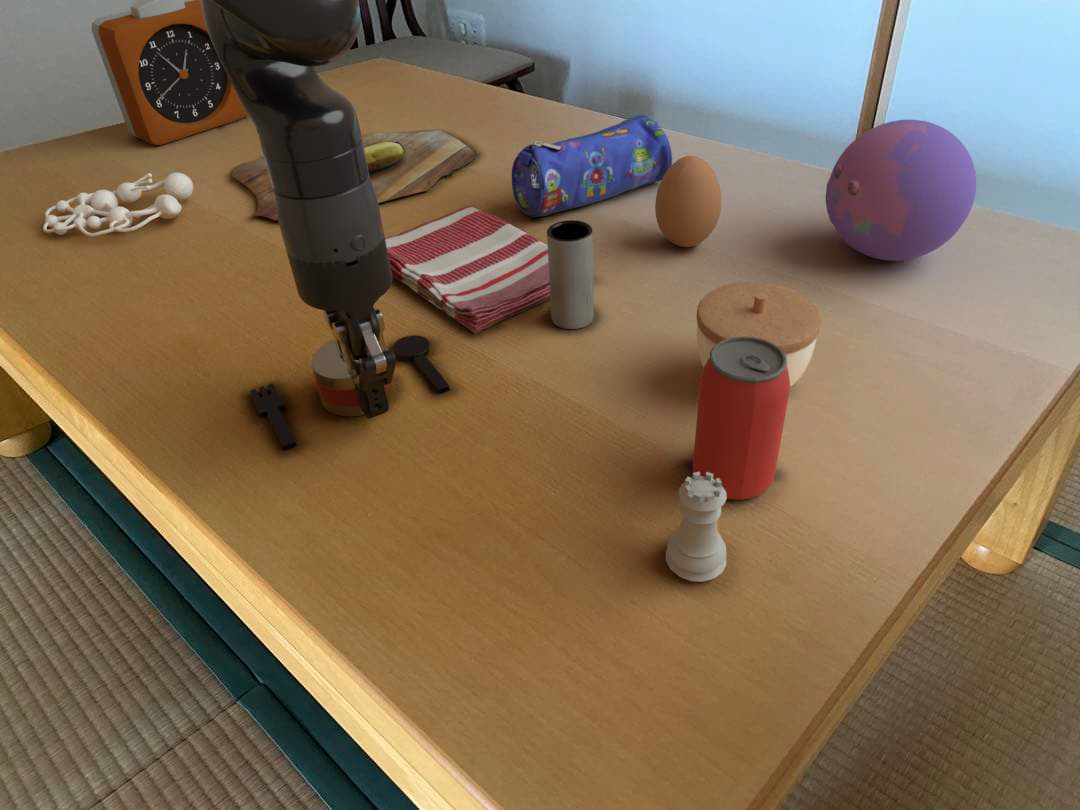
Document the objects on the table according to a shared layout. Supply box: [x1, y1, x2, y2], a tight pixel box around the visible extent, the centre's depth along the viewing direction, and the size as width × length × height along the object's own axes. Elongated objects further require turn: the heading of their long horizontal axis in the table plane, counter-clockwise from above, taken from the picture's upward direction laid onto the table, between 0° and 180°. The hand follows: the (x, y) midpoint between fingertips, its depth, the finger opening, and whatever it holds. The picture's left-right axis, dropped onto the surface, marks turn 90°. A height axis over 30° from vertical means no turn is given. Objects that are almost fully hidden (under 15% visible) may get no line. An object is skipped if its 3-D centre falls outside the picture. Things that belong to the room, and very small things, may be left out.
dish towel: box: [385, 205, 550, 334], centre depth 96 cm, size 17×23×3 cm
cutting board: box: [231, 130, 477, 221], centre depth 120 cm, size 35×27×4 cm
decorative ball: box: [825, 119, 977, 262], centre depth 90 cm, size 15×15×15 cm
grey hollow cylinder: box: [546, 219, 595, 330], centre depth 84 cm, size 4×4×10 cm
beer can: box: [692, 336, 791, 501], centre depth 64 cm, size 7×7×12 cm
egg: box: [654, 155, 722, 248], centre depth 95 cm, size 8×8×11 cm
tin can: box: [310, 339, 396, 418], centre depth 77 cm, size 7×7×4 cm
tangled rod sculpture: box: [42, 172, 194, 238], centre depth 111 cm, size 19×14×4 cm
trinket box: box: [696, 281, 822, 388], centre depth 74 cm, size 11×11×9 cm
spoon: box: [392, 334, 451, 395], centre depth 82 cm, size 10×4×1 cm, turn 29°
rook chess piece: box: [665, 472, 728, 583], centre depth 58 cm, size 4×4×8 cm
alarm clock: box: [91, 0, 249, 147], centre depth 134 cm, size 18×9×21 cm, turn 136°
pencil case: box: [511, 114, 673, 218], centre depth 107 cm, size 22×9×10 cm, turn 119°
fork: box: [249, 382, 298, 451], centre depth 76 cm, size 10×2×1 cm, turn 29°
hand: (375, 411), depth 74 cm, fingers closed
